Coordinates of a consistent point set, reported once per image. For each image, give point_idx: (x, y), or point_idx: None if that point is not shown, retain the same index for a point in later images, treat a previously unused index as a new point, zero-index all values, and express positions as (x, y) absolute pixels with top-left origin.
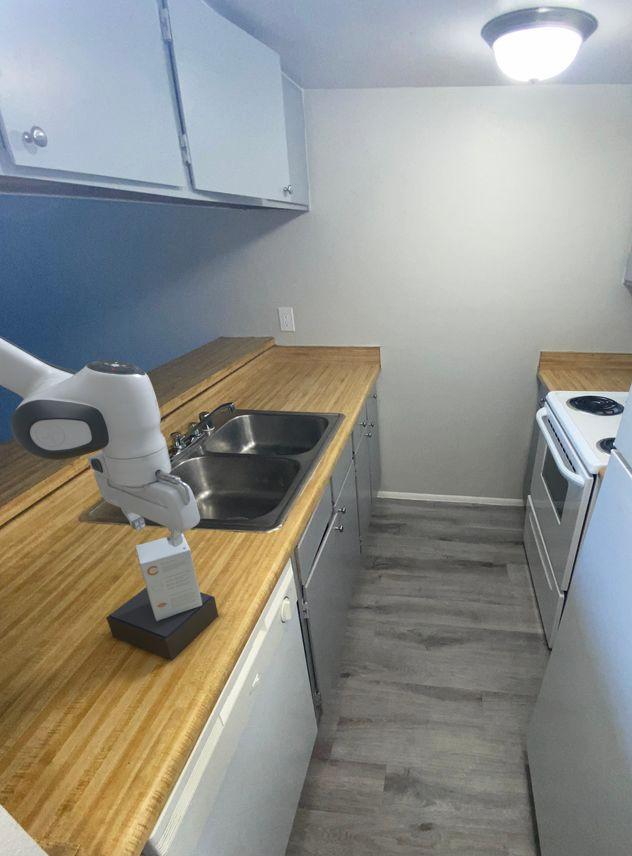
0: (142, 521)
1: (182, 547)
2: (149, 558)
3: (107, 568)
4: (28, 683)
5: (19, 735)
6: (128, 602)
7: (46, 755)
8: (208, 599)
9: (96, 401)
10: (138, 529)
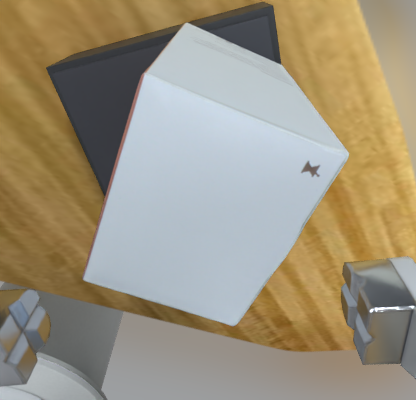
0: (12, 331)
1: (293, 170)
2: (234, 295)
3: None
4: (135, 297)
5: (219, 326)
6: (106, 178)
7: (277, 321)
8: (269, 29)
9: None
10: (45, 323)
